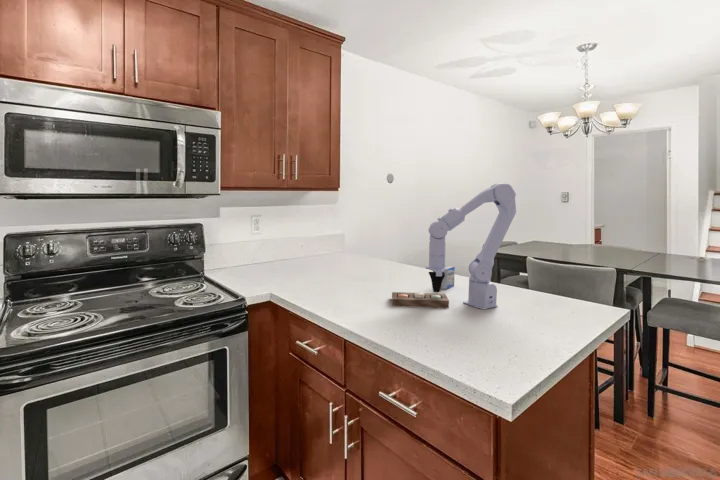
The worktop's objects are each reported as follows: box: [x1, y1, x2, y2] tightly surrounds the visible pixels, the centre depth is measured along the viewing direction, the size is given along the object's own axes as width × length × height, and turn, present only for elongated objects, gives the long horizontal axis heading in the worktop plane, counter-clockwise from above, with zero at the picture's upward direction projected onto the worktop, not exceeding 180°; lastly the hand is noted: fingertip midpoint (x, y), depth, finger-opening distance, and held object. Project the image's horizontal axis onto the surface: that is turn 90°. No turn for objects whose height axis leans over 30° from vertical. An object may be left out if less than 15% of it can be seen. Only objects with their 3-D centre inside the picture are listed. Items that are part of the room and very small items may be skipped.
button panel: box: [391, 291, 450, 309], centre depth 144 cm, size 20×10×2 cm, turn 85°
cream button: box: [413, 291, 425, 298], centre depth 144 cm, size 4×4×2 cm
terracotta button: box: [398, 294, 408, 298], centre depth 145 cm, size 4×4×2 cm
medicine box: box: [440, 265, 456, 290], centre depth 169 cm, size 8×4×9 cm, turn 143°
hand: (436, 291), depth 143 cm, fingers closed
